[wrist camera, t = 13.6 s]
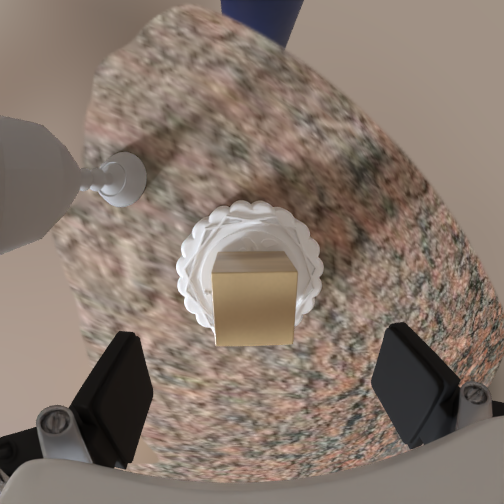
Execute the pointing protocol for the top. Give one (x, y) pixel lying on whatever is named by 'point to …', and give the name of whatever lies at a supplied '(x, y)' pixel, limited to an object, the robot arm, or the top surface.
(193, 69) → the top surface
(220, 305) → the block
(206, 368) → the top surface
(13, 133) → the chalice
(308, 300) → the mooncake
